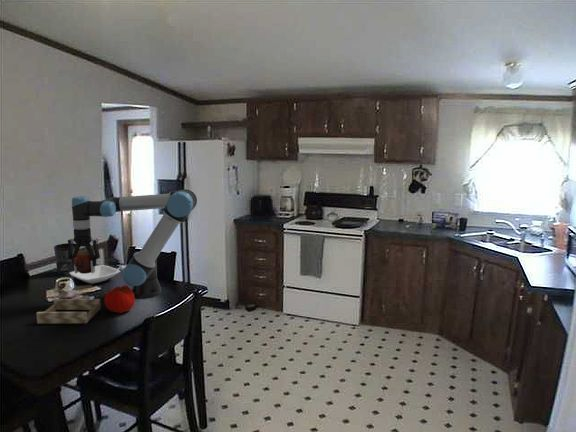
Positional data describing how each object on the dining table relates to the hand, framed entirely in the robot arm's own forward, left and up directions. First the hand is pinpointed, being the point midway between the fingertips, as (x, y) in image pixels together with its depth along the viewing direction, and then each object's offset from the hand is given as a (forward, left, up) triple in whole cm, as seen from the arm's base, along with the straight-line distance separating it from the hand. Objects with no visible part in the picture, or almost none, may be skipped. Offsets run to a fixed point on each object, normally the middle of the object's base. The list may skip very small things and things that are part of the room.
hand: (85, 272), depth 203 cm
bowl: (+9, -33, -16) cm, 38 cm away
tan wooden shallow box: (+1, +16, -16) cm, 23 cm away
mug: (0, 0, 0) cm, 1 cm away
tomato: (-20, +10, -16) cm, 28 cm away
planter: (+31, -47, -16) cm, 59 cm away
